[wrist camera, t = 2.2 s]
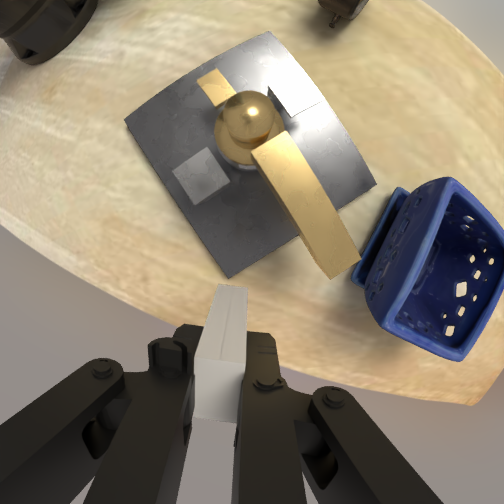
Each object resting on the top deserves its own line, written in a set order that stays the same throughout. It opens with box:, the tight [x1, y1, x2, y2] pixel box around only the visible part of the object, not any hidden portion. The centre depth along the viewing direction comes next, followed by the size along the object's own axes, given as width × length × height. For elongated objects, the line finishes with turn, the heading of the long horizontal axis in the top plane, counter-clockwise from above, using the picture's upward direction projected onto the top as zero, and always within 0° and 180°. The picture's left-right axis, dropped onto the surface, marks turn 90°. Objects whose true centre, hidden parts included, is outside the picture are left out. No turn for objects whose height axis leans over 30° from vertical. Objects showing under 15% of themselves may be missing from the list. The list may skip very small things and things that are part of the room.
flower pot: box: [351, 177, 504, 362], centre depth 23 cm, size 13×13×12 cm
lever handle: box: [196, 68, 361, 280], centre depth 18 cm, size 17×5×7 cm, turn 33°
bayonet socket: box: [124, 31, 377, 279], centre depth 22 cm, size 20×18×7 cm
